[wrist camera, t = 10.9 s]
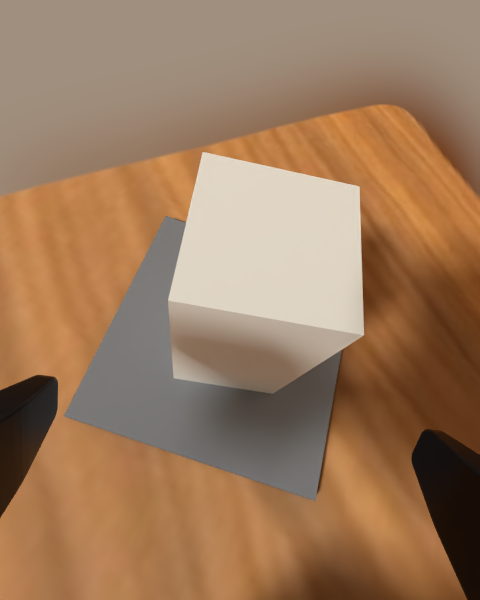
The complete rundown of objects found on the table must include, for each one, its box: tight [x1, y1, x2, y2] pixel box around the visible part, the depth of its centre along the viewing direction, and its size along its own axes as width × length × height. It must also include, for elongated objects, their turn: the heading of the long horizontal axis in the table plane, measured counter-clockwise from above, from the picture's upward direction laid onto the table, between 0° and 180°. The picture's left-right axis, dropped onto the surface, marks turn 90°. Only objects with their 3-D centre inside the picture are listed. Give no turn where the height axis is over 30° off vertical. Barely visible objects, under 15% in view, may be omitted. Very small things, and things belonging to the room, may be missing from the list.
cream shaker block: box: [168, 152, 364, 394], centre depth 14 cm, size 5×5×10 cm
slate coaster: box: [64, 216, 342, 501], centre depth 18 cm, size 12×12×1 cm
